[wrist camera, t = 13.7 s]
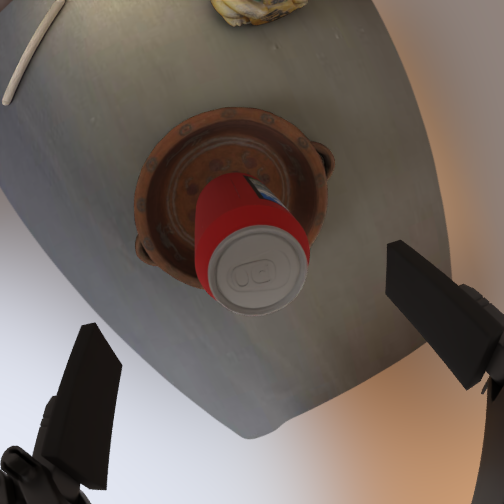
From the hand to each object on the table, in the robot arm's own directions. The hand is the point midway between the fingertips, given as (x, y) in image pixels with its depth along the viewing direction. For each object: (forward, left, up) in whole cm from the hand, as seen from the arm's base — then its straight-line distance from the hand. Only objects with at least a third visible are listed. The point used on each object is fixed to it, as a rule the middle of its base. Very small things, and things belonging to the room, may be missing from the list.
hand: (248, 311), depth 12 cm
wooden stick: (-27, +4, -21) cm, 34 cm away
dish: (+1, 0, -21) cm, 21 cm away
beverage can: (+1, 0, -16) cm, 16 cm away
